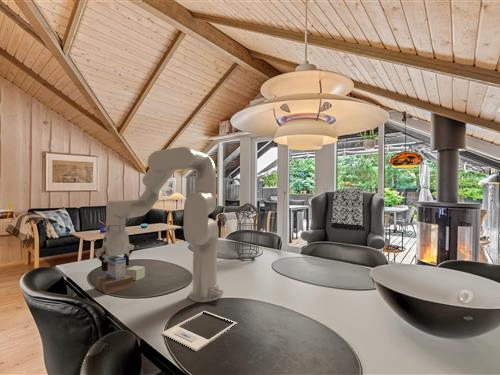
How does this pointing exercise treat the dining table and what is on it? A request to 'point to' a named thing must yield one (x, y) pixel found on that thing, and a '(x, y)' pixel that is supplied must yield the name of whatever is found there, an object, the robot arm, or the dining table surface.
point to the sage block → (136, 272)
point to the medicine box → (116, 267)
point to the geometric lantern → (247, 225)
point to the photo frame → (192, 334)
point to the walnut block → (113, 284)
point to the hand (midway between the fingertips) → (115, 267)
